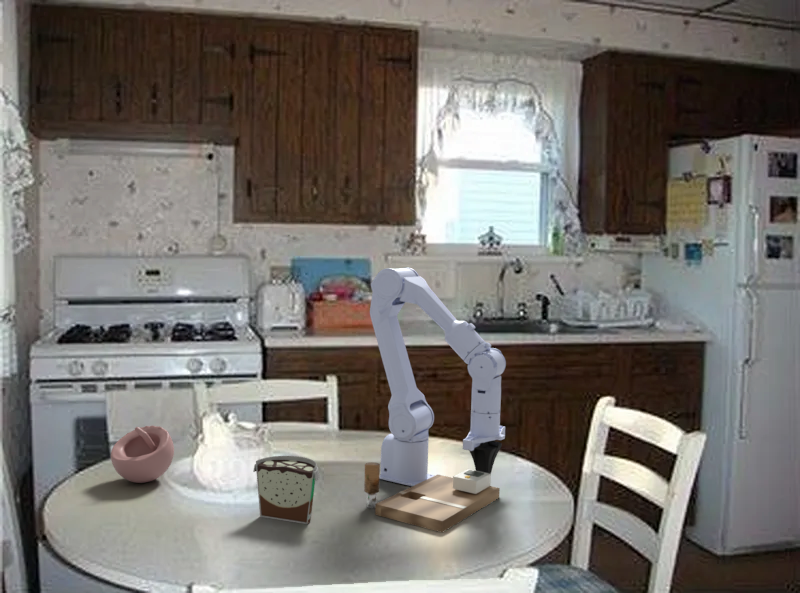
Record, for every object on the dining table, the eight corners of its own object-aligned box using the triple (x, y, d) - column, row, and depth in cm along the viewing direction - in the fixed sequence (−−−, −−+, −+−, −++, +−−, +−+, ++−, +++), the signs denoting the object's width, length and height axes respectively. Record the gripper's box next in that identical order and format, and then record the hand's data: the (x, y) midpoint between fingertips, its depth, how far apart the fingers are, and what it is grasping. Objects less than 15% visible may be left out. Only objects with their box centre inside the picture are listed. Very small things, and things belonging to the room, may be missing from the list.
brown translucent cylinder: (360, 507, 143) (361, 464, 142) (369, 503, 145) (370, 461, 145) (373, 510, 141) (374, 467, 141) (381, 506, 144) (382, 464, 143)
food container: (330, 513, 139) (331, 459, 138) (315, 525, 133) (316, 468, 132) (269, 504, 143) (270, 451, 142) (252, 515, 137) (253, 460, 136)
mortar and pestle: (97, 485, 151) (97, 428, 150) (139, 469, 162) (139, 415, 161) (146, 494, 147) (146, 435, 146) (186, 477, 158) (186, 422, 157)
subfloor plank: (375, 514, 139) (375, 503, 139) (437, 484, 157) (437, 474, 157) (442, 532, 131) (442, 520, 131) (499, 498, 150) (499, 487, 150)
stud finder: (452, 488, 147) (453, 475, 147) (467, 480, 152) (468, 467, 152) (475, 493, 145) (476, 480, 144) (490, 485, 150) (490, 472, 149)
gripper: (487, 420, 143) (484, 492, 144) (519, 407, 155) (517, 473, 156) (454, 415, 147) (451, 484, 148) (488, 402, 159) (486, 467, 160)
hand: (483, 478), depth 152 cm, fingers closed
